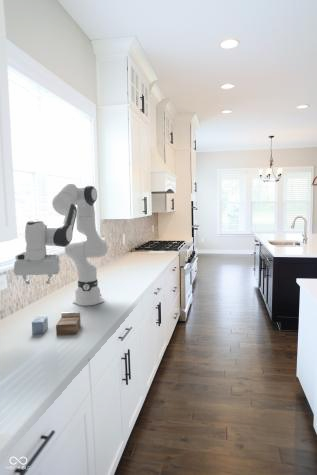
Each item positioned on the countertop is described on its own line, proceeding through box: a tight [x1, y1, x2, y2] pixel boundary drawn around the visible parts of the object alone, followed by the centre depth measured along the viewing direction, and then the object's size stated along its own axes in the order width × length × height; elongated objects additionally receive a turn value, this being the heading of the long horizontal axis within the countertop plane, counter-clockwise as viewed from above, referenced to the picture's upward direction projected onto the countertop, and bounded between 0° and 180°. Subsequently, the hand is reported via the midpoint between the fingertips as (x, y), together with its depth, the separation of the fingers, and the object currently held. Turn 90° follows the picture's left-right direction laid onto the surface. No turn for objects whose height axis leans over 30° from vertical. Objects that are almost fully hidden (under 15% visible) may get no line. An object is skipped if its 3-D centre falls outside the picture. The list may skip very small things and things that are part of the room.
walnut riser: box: [55, 311, 82, 336], centre depth 160 cm, size 12×9×7 cm
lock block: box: [31, 316, 49, 336], centre depth 159 cm, size 8×5×6 cm, turn 4°
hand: (37, 283), depth 157 cm, fingers open, 8 cm apart
